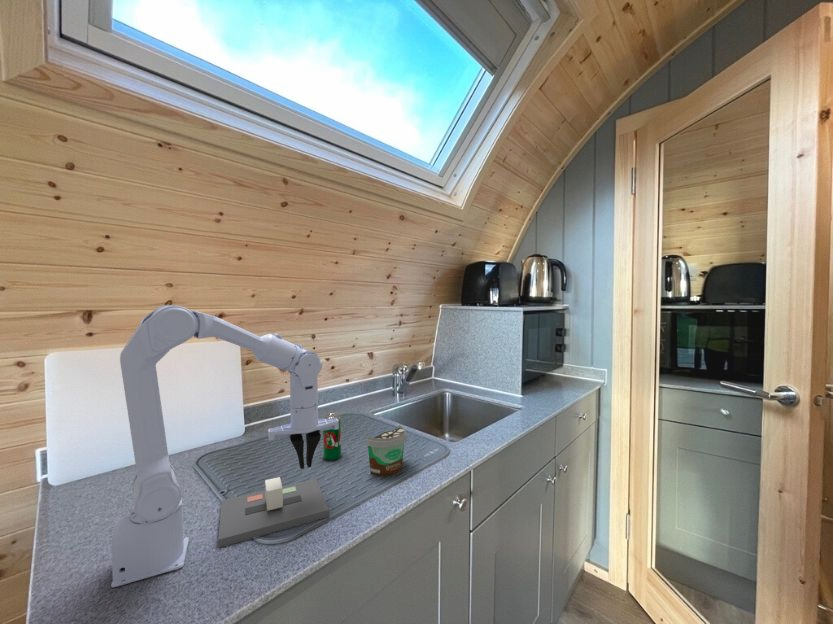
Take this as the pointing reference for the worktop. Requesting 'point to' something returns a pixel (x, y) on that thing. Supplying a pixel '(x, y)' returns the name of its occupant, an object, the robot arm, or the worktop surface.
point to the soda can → (332, 440)
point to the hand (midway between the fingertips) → (305, 466)
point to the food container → (386, 452)
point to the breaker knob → (273, 493)
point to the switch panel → (270, 512)
